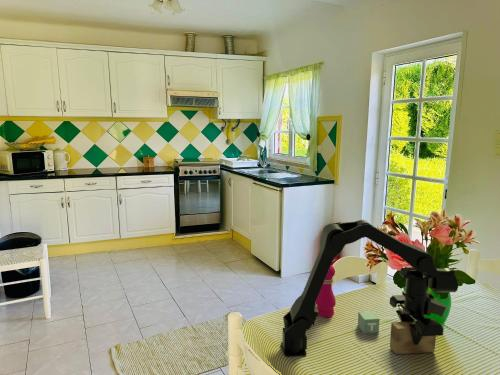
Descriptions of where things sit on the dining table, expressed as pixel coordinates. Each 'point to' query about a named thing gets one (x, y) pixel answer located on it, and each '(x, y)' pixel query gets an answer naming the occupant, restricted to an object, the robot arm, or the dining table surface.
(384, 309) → the dining table surface
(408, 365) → the dining table surface
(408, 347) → the wooden block
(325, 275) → the robot arm
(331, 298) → the pepper mill
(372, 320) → the letter cube
